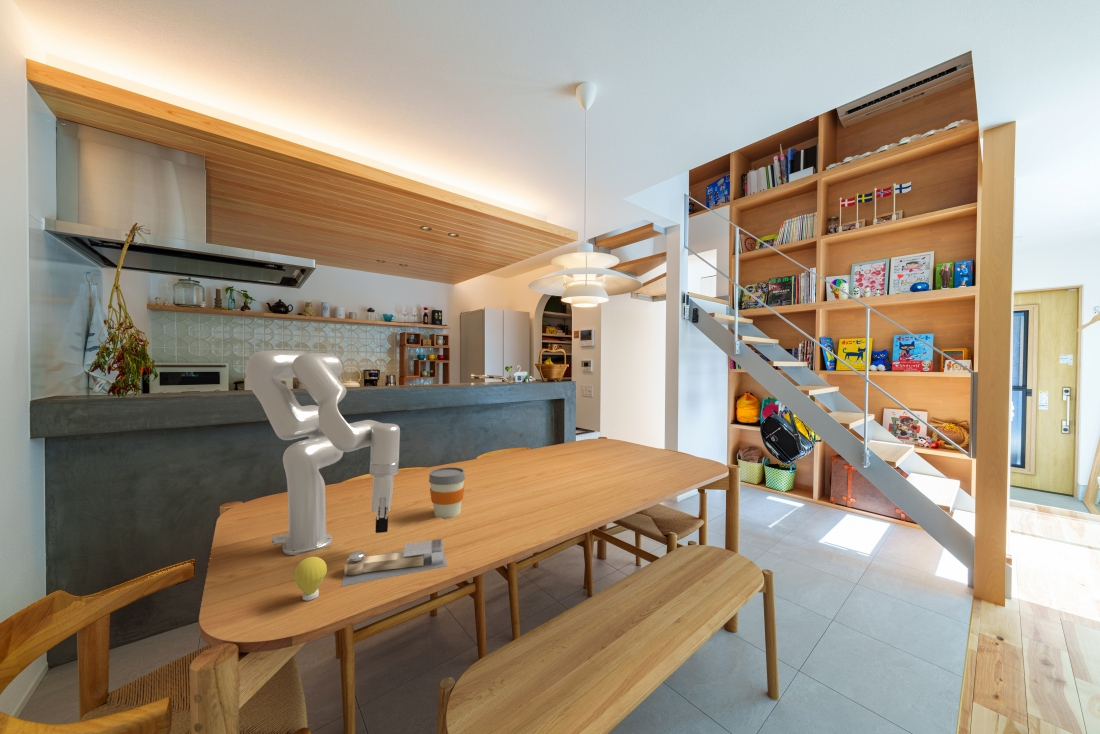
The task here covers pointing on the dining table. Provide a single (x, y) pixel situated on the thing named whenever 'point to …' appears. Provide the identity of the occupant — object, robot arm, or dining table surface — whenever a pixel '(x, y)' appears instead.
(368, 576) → the base board
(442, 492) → the reusable coffee cup
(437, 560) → the block
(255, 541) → the dining table surface
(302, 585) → the light bulb
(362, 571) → the arm link
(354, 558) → the pin cap
